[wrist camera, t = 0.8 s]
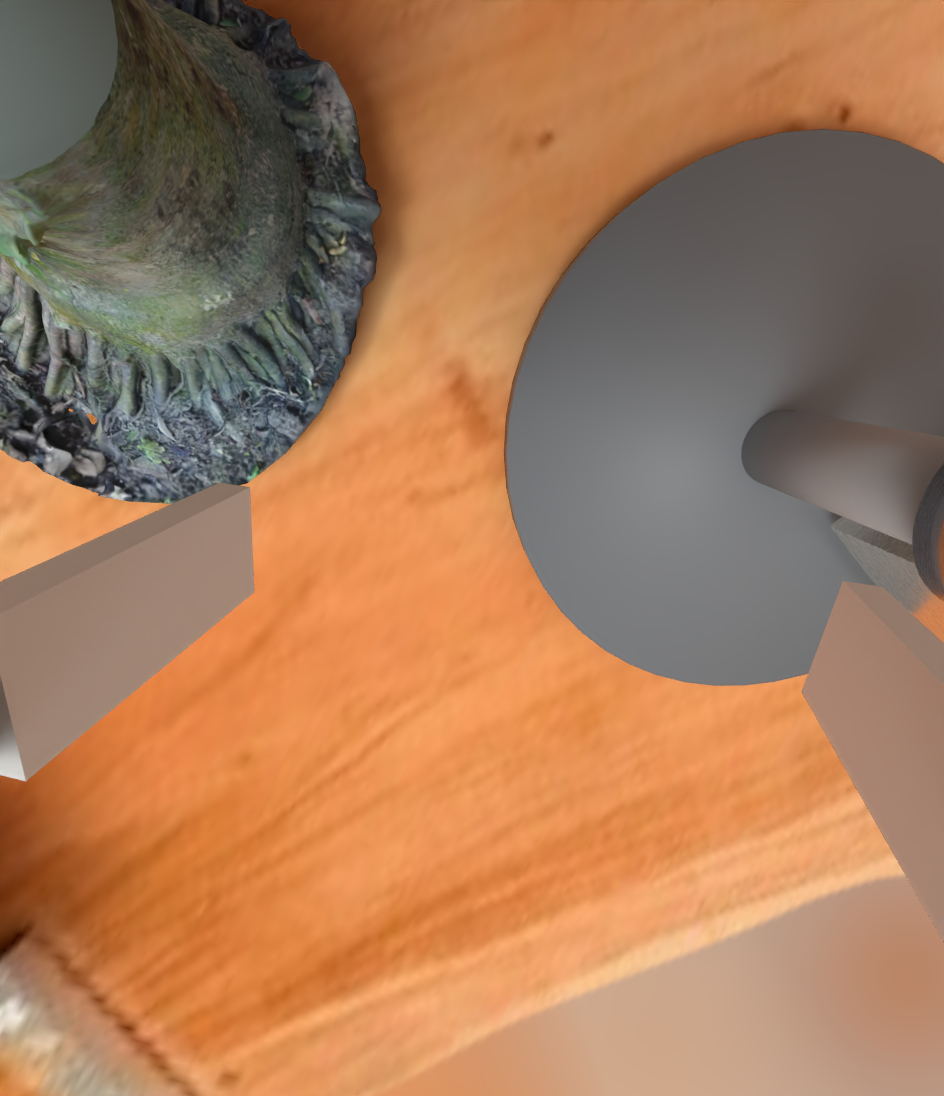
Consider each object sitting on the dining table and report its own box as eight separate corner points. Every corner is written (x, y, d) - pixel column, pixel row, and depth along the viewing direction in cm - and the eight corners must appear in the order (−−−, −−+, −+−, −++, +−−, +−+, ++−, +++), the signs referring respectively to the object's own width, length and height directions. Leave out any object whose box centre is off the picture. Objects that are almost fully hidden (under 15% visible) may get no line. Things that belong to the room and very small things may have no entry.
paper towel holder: (545, 96, 24) (660, -139, 13) (1101, 186, 27) (1622, 63, 15) (476, 658, 32) (506, 836, 21) (910, 683, 35) (1155, 852, 23)
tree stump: (-187, 286, 25) (-1397, -156, 8) (160, -22, 26) (-184, -989, 9) (165, 580, 29) (-91, 730, 12) (447, 301, 31) (590, 69, 13)
